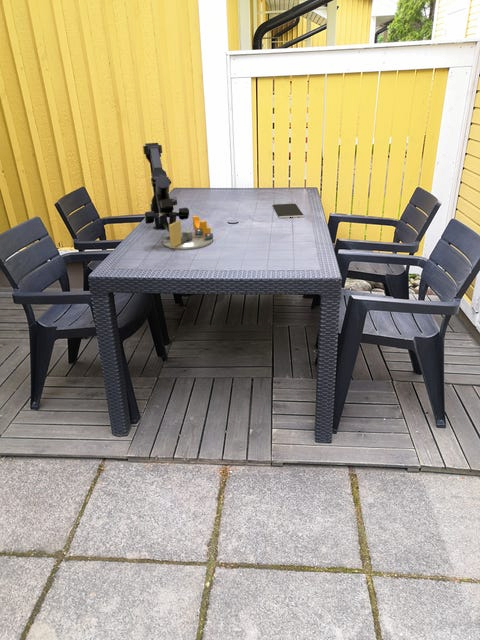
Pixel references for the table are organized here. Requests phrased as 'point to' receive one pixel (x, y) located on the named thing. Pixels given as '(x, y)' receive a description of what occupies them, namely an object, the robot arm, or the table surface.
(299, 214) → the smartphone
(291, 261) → the table surface
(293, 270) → the table surface
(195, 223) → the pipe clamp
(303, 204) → the table surface
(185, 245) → the dial plate
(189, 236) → the tan upright panel
